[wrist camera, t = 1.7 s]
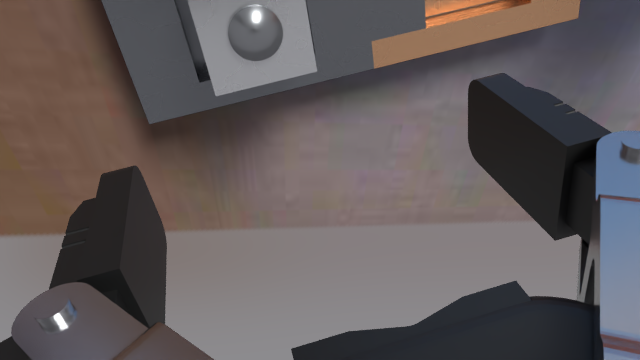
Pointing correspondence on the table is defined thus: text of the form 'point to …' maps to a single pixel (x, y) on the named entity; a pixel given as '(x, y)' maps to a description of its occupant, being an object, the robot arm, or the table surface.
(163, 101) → the tray
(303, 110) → the table surface
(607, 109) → the table surface
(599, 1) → the table surface
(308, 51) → the silver block
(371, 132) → the table surface
